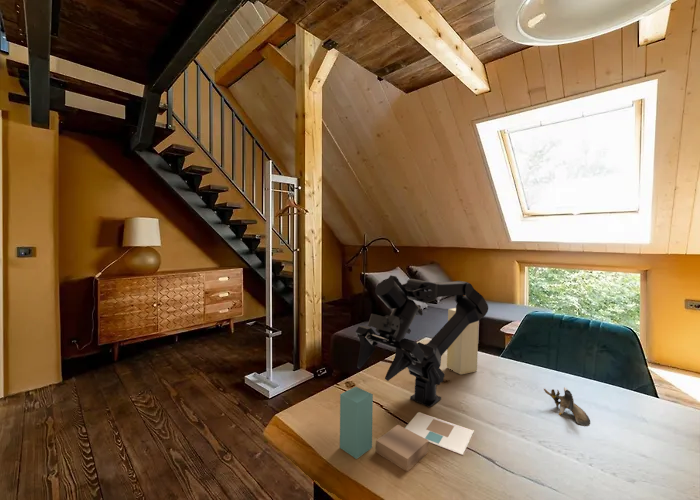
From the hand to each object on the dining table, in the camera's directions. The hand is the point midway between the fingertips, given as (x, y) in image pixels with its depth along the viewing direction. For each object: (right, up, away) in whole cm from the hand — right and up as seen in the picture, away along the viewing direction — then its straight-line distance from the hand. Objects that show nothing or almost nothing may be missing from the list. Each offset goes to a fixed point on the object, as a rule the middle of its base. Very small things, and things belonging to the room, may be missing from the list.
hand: (371, 373), depth 77 cm
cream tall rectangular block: (+34, -12, +35) cm, 50 cm away
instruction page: (+16, -14, -1) cm, 21 cm away
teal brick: (-4, -14, -7) cm, 16 cm away
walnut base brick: (+6, -14, -8) cm, 17 cm away
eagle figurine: (+52, -14, +7) cm, 54 cm away
